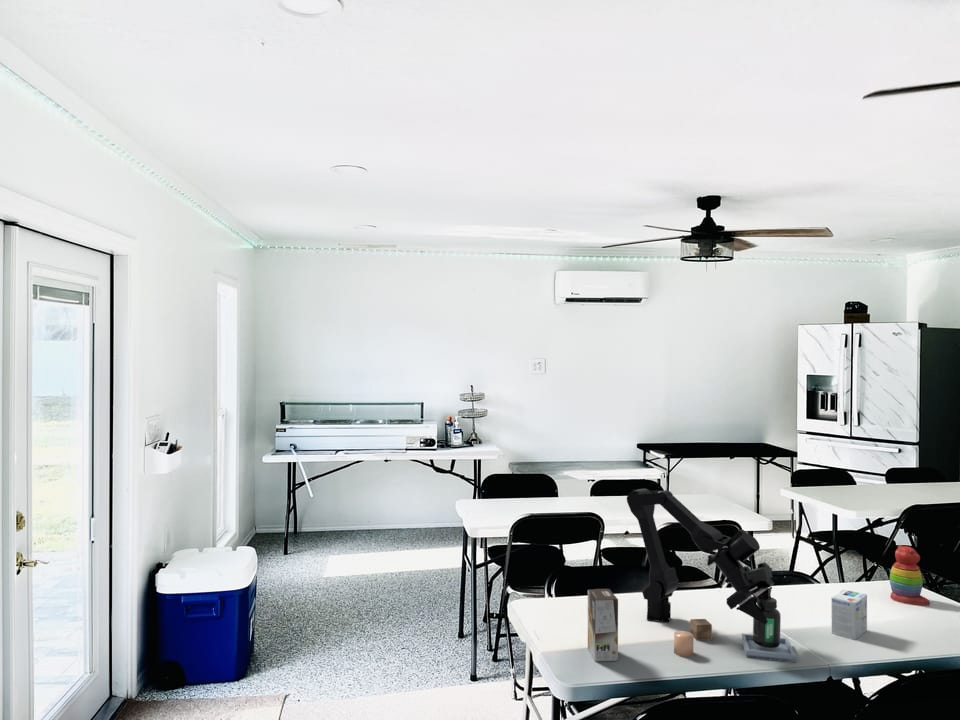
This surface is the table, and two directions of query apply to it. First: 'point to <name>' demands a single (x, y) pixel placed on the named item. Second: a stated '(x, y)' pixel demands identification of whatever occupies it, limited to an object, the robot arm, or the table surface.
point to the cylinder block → (683, 643)
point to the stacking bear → (907, 577)
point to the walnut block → (701, 629)
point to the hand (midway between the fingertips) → (771, 620)
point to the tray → (768, 649)
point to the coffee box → (603, 625)
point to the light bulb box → (849, 614)
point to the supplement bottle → (767, 624)
